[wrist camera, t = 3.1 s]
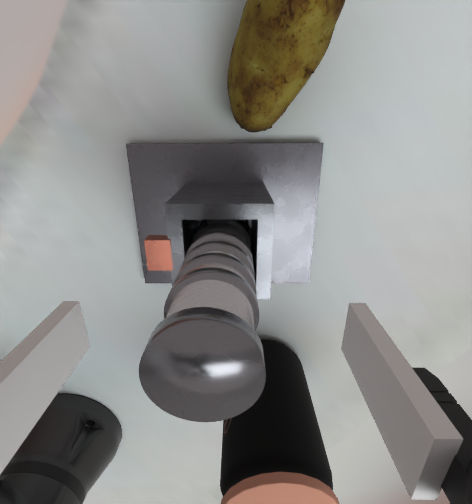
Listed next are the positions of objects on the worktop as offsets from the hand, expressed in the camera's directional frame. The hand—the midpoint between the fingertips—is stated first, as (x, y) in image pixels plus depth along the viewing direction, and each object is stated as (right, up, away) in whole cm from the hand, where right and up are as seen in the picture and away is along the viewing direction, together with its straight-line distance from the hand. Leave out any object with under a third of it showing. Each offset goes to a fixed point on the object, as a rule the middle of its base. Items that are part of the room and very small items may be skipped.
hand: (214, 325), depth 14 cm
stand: (0, +8, +19) cm, 20 cm away
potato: (+4, +22, +13) cm, 26 cm away
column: (0, +7, +18) cm, 19 cm away
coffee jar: (+5, -13, +27) cm, 31 cm away
